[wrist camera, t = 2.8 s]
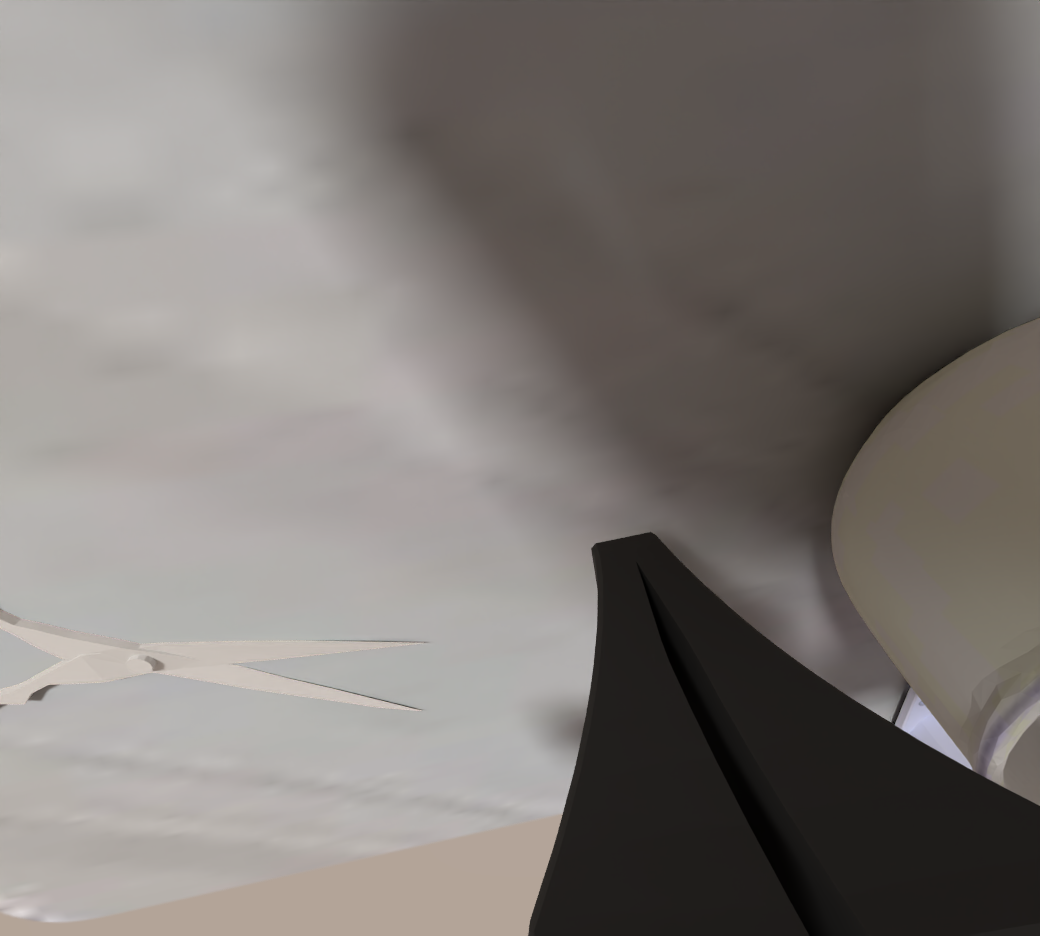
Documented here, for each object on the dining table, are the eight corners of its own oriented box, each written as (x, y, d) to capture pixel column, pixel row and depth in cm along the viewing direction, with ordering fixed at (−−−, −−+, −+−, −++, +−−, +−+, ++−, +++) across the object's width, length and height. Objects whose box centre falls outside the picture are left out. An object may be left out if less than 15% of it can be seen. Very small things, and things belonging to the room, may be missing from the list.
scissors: (-418, 495, 11) (446, 579, 14) (-367, 477, 12) (448, 562, 15) (-177, 747, 16) (414, 766, 20) (-151, 725, 17) (416, 747, 20)
